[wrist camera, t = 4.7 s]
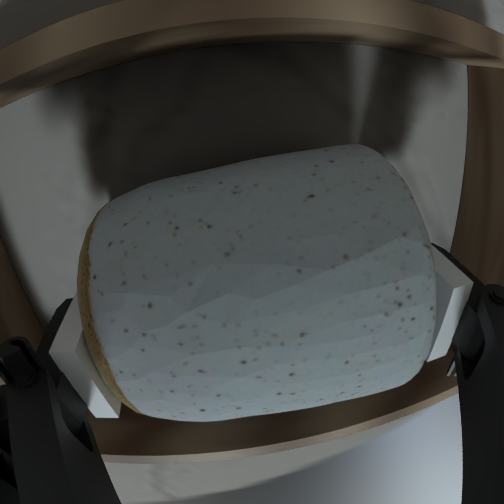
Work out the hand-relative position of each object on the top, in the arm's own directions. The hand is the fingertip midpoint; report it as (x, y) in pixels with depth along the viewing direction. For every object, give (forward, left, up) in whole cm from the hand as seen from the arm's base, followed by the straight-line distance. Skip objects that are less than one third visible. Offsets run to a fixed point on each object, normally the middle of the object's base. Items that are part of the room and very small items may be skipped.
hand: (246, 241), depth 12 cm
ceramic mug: (0, -1, -1) cm, 1 cm away
